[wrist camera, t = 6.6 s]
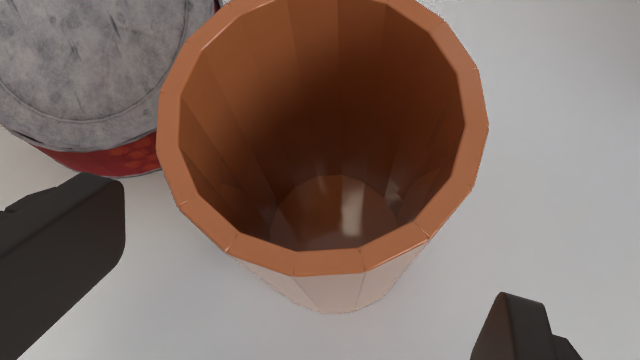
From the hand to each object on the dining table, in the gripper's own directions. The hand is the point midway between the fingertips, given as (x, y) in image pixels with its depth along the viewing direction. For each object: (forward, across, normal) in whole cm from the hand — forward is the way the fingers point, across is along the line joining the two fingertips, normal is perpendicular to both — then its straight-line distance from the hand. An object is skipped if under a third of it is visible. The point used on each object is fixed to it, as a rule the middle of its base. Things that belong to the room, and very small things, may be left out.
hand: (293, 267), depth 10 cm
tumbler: (+8, 0, +4) cm, 9 cm away
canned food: (+11, +11, +1) cm, 15 cm away
